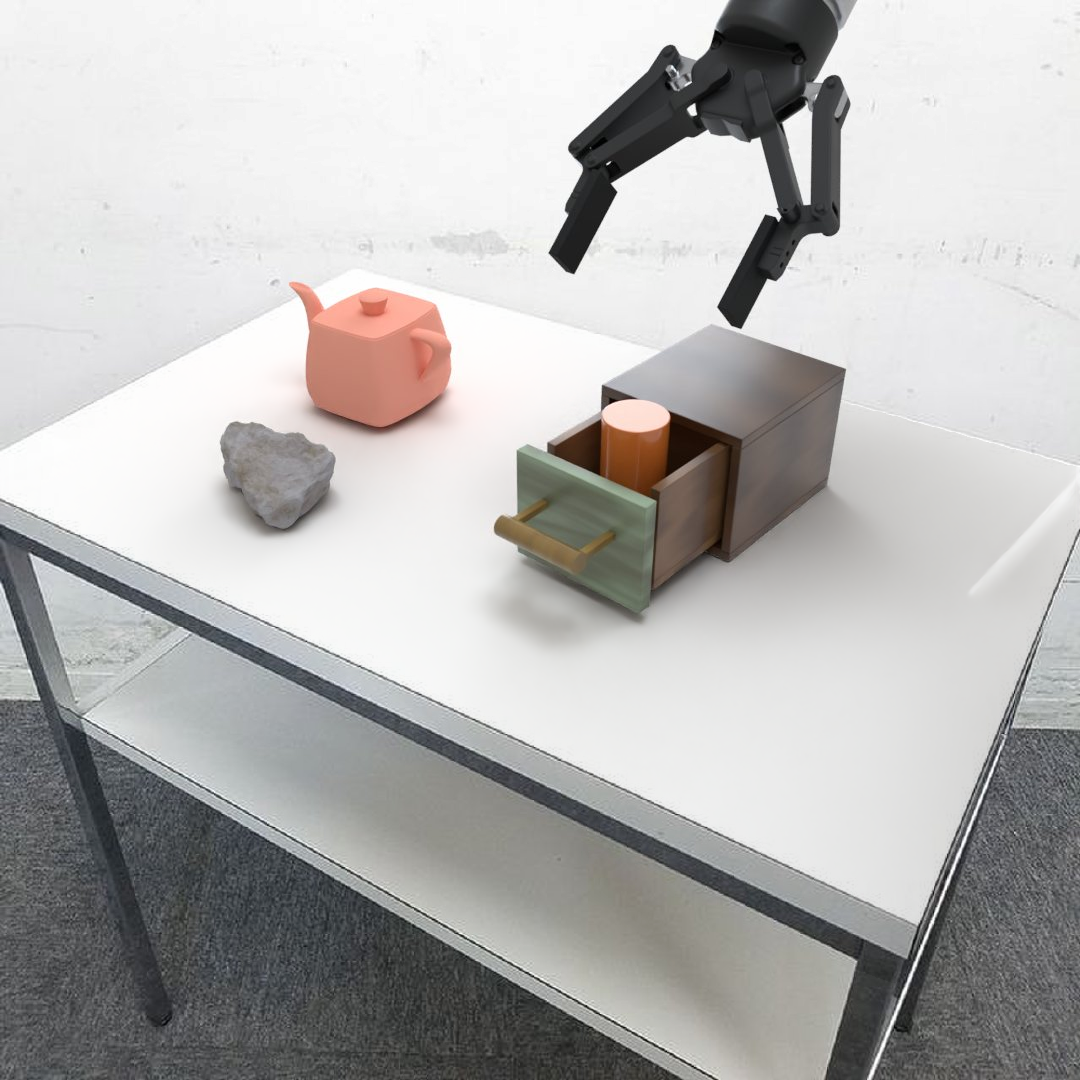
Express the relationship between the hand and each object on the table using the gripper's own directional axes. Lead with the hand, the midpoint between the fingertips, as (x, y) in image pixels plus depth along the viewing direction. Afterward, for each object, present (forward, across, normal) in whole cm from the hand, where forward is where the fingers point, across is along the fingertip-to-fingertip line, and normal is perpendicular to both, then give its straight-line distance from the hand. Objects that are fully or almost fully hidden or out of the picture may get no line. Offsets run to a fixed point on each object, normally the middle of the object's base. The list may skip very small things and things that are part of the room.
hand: (640, 290), depth 77 cm
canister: (+14, 0, +14) cm, 19 cm away
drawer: (+15, 0, +13) cm, 20 cm away
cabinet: (+7, 0, +23) cm, 24 cm away
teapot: (+12, -33, +19) cm, 40 cm away
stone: (+24, -26, +7) cm, 36 cm away
